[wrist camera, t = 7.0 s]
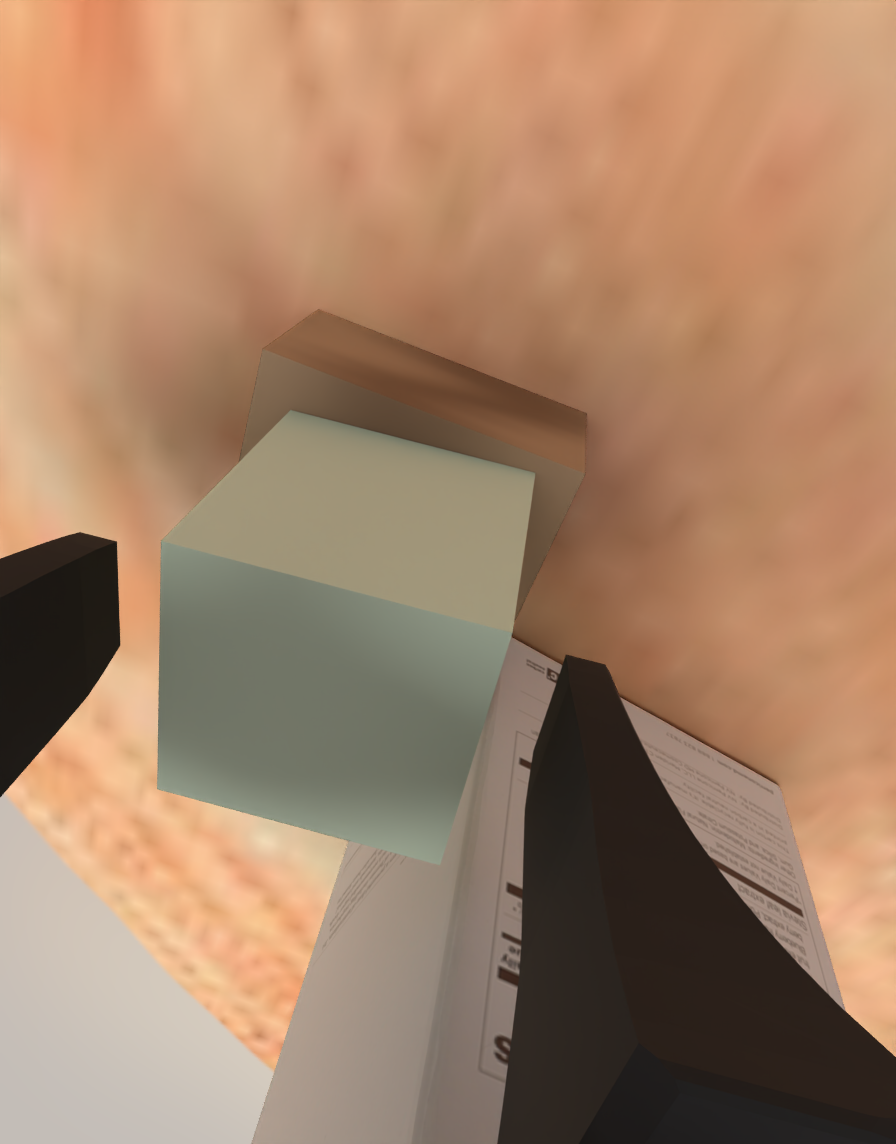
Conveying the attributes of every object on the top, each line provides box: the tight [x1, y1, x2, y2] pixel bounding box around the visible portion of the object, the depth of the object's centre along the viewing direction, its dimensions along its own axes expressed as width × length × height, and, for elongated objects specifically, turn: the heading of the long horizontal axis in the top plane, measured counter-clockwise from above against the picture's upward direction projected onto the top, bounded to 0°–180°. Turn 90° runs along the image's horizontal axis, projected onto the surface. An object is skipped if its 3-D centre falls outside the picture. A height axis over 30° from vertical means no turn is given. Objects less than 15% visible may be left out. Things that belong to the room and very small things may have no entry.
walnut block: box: [239, 309, 587, 622], centre depth 17 cm, size 6×6×4 cm
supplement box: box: [251, 637, 845, 1144], centre depth 16 cm, size 9×9×15 cm
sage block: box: [157, 410, 535, 865], centre depth 13 cm, size 4×4×5 cm
